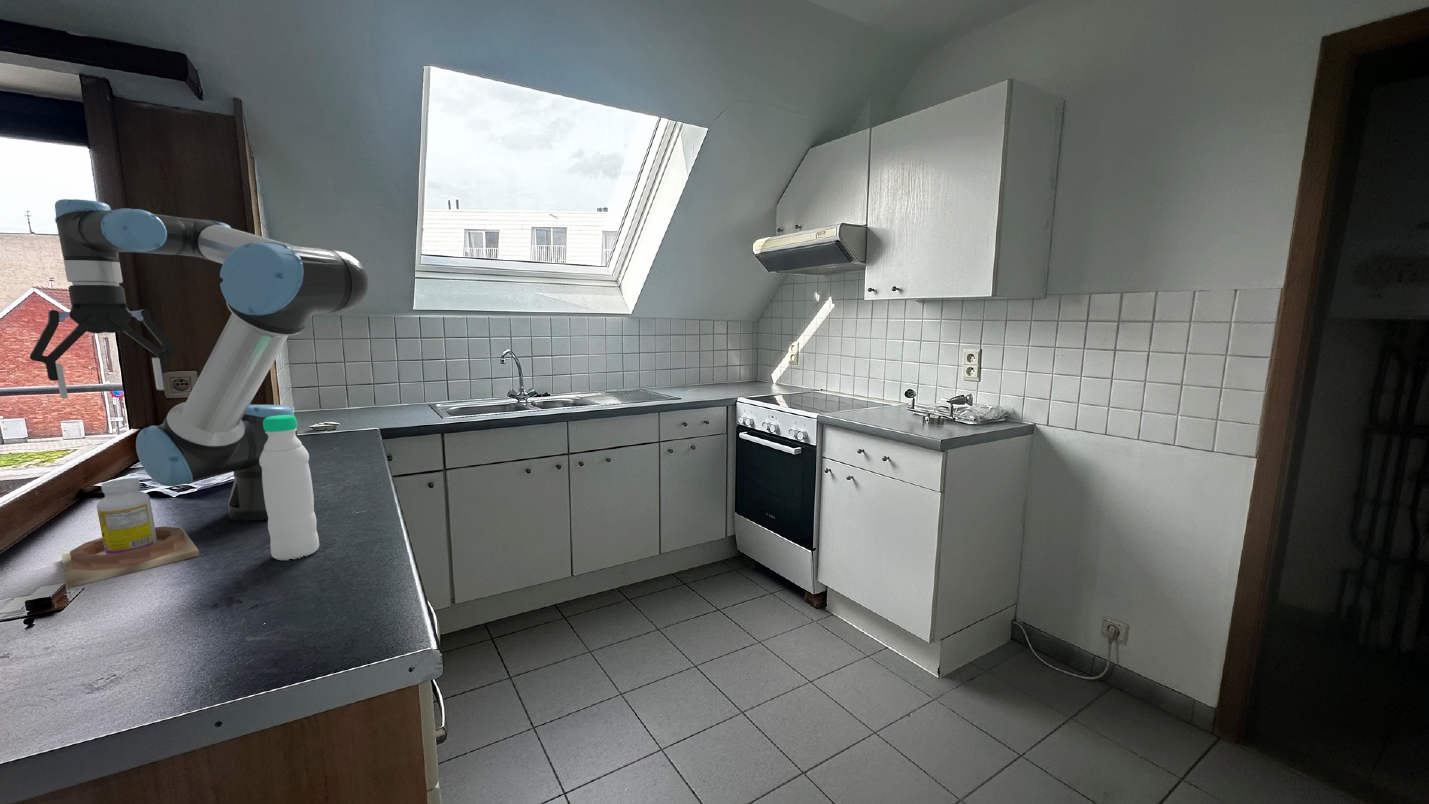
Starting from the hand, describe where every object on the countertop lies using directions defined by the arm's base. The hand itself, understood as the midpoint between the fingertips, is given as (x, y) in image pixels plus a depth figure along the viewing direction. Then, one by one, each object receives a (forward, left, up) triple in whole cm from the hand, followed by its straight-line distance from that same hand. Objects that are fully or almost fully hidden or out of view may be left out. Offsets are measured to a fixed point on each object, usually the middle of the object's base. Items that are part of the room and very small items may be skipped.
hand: (114, 393), depth 118 cm
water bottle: (-37, +29, -27) cm, 54 cm away
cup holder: (-10, +22, -27) cm, 36 cm away
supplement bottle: (-10, +22, -26) cm, 35 cm away
